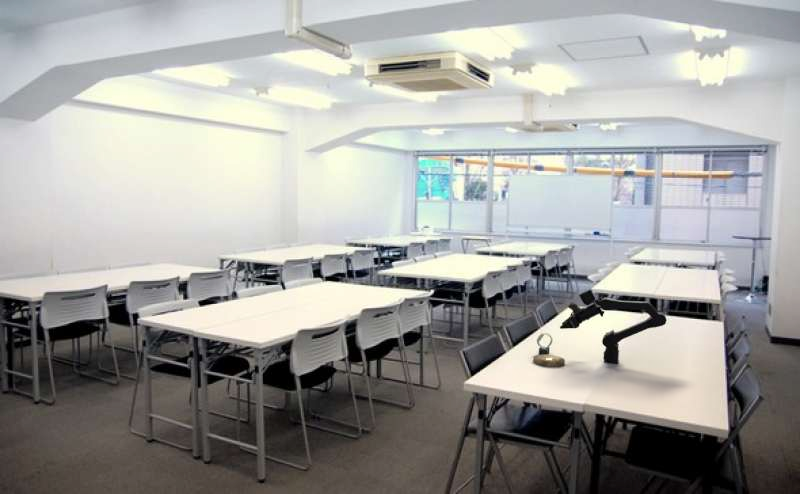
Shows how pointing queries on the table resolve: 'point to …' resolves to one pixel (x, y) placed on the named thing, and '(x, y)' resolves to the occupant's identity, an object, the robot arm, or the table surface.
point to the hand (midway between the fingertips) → (561, 326)
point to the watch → (543, 349)
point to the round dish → (549, 360)
